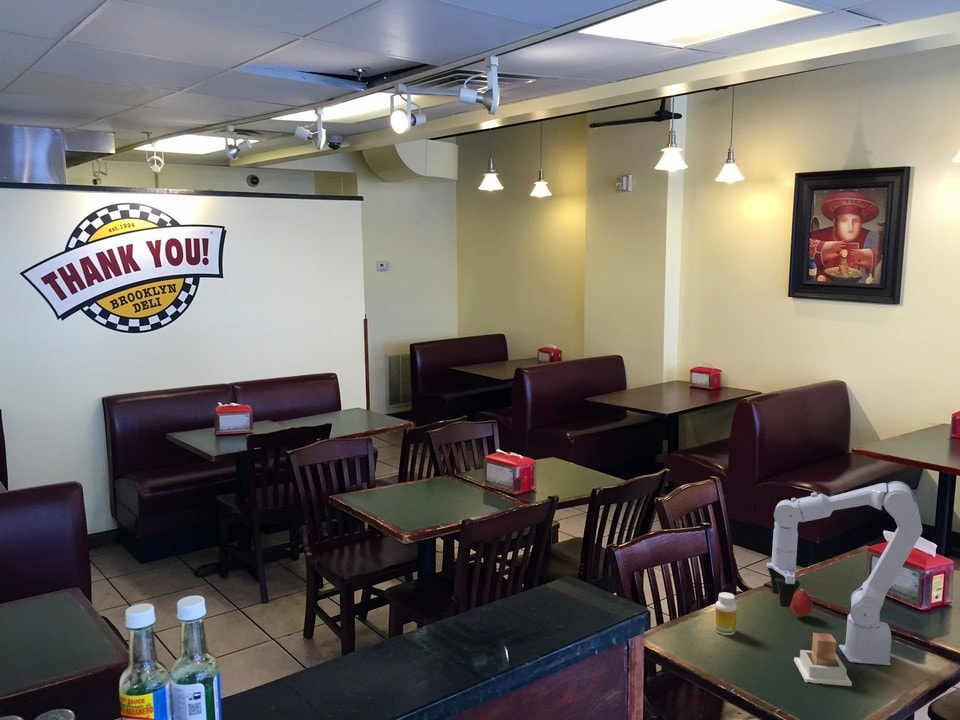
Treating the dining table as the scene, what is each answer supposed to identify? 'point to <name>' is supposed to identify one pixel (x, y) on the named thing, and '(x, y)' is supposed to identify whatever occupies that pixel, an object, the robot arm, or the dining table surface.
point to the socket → (822, 670)
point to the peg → (823, 649)
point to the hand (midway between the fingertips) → (781, 599)
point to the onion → (801, 603)
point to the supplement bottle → (725, 614)
